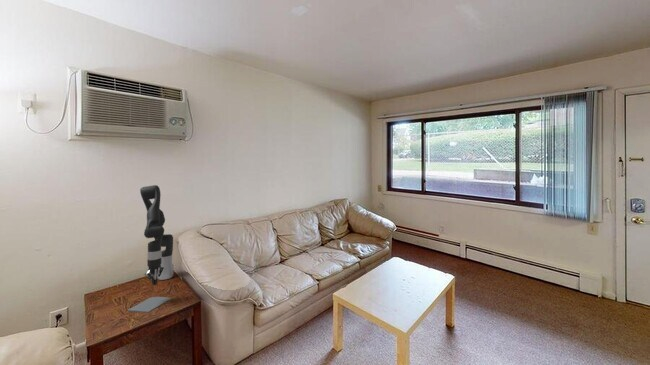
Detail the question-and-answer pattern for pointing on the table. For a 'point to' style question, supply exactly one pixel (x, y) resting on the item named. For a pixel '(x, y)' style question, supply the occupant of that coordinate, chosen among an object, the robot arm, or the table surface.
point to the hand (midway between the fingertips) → (154, 284)
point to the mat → (149, 304)
